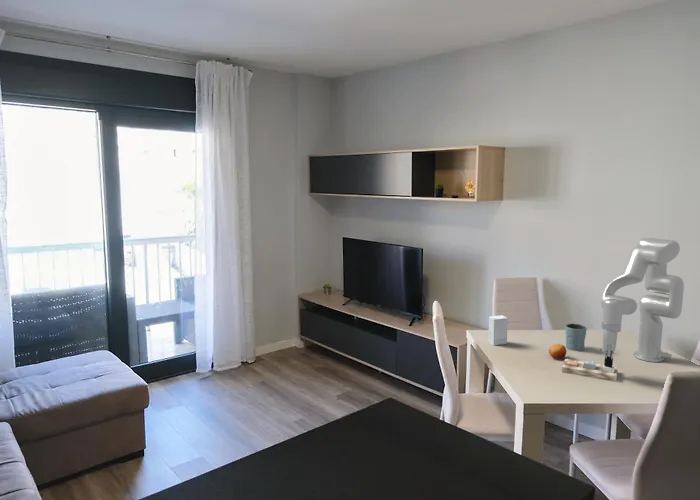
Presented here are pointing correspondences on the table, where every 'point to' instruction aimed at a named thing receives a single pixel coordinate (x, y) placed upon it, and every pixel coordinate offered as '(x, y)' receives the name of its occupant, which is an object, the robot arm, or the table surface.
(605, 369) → the key
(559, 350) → the fruit
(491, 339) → the skincare box
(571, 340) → the grey-blue cup
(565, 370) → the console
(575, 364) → the key
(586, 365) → the key
